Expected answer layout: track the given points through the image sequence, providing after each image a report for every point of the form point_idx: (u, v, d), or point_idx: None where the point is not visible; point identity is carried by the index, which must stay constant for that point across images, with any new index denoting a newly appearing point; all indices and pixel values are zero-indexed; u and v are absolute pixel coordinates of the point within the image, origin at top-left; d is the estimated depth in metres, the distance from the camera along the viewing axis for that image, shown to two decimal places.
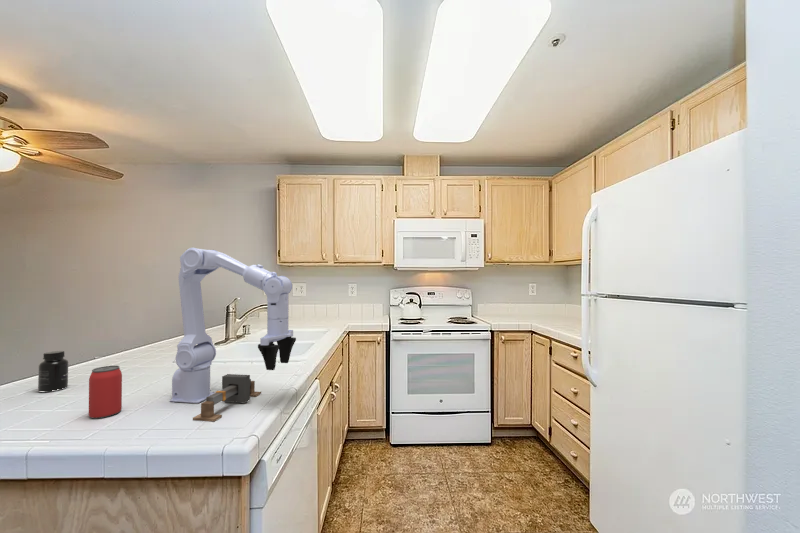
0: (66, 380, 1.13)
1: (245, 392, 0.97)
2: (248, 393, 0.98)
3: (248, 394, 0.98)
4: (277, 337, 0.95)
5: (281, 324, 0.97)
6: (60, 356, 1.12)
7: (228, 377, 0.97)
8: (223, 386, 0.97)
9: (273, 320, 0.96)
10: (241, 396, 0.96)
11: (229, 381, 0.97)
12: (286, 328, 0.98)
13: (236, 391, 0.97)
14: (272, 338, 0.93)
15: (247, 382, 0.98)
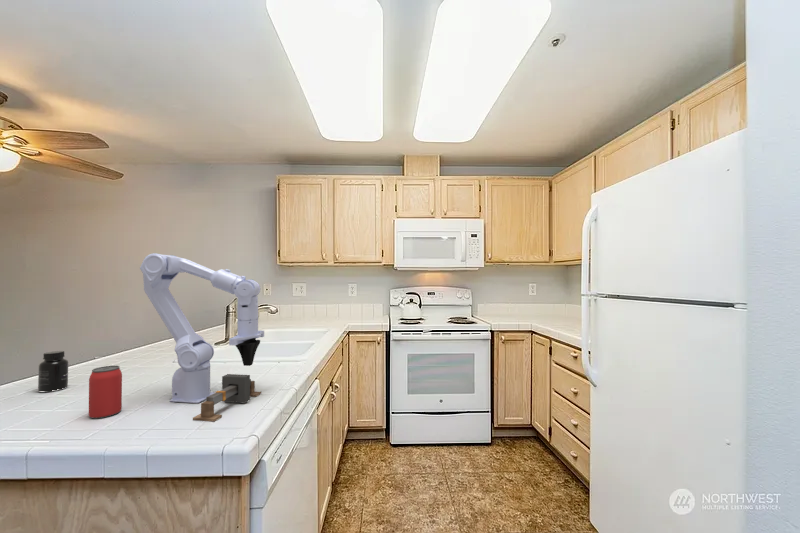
0: (66, 380, 1.13)
1: (245, 392, 0.97)
2: (248, 393, 0.98)
3: (248, 394, 0.98)
4: (246, 337, 1.00)
5: (250, 325, 1.02)
6: (60, 356, 1.12)
7: (228, 377, 0.97)
8: (223, 386, 0.97)
9: (242, 321, 1.01)
10: (241, 396, 0.96)
11: (229, 381, 0.97)
12: (255, 329, 1.03)
13: (236, 391, 0.97)
14: (241, 338, 0.98)
15: (247, 382, 0.98)
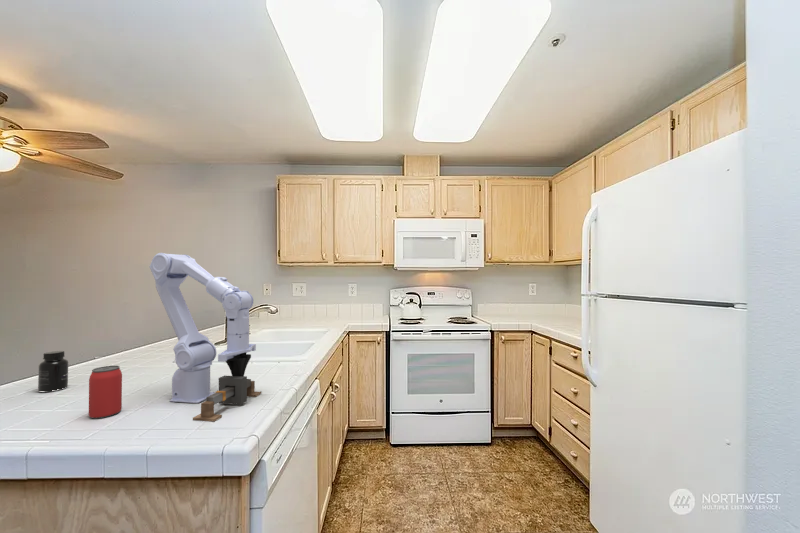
0: (66, 380, 1.13)
1: (242, 394, 0.95)
2: (245, 395, 0.96)
3: (245, 396, 0.96)
4: (236, 353, 0.95)
5: (241, 339, 0.97)
6: (60, 356, 1.12)
7: (225, 379, 0.96)
8: (219, 388, 0.96)
9: (232, 336, 0.97)
10: (238, 398, 0.95)
11: (226, 383, 0.96)
12: (246, 343, 0.98)
13: None
14: (230, 354, 0.94)
15: (244, 384, 0.96)
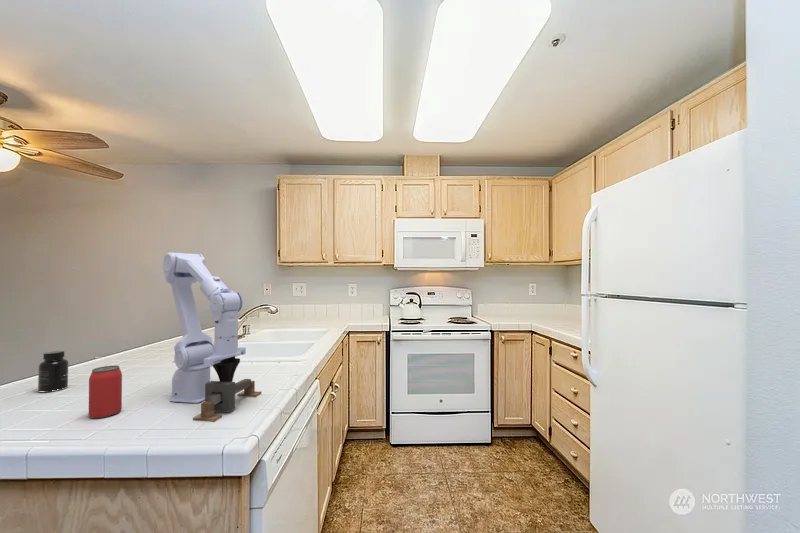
0: (66, 380, 1.13)
1: (230, 400, 0.90)
2: (233, 401, 0.91)
3: (233, 402, 0.91)
4: (223, 357, 0.90)
5: (229, 343, 0.92)
6: (60, 356, 1.12)
7: (211, 384, 0.91)
8: (206, 394, 0.91)
9: (220, 339, 0.91)
10: (225, 405, 0.90)
11: (212, 389, 0.91)
12: (234, 347, 0.93)
13: (236, 391, 0.97)
14: (217, 358, 0.89)
15: (232, 390, 0.91)
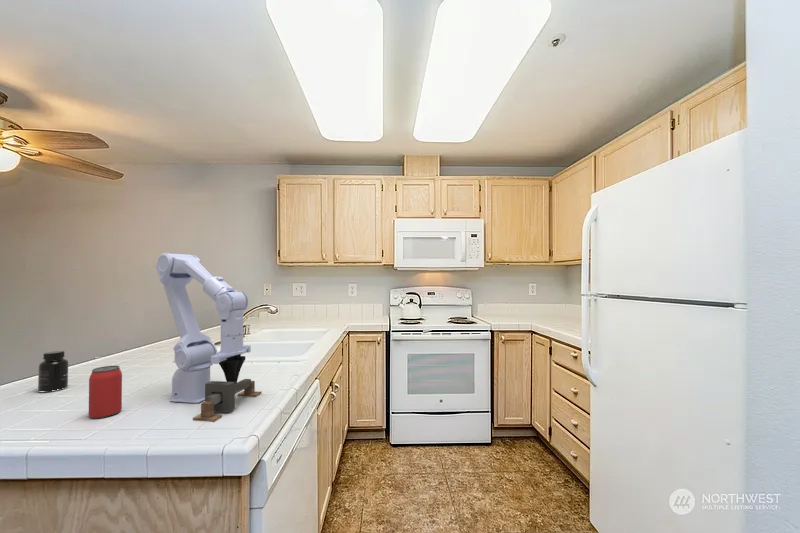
0: (66, 380, 1.13)
1: (229, 400, 0.90)
2: (233, 401, 0.91)
3: (233, 402, 0.91)
4: (229, 355, 0.93)
5: (235, 341, 0.94)
6: (60, 356, 1.12)
7: (211, 384, 0.91)
8: (206, 394, 0.91)
9: (226, 337, 0.94)
10: (225, 405, 0.90)
11: (212, 389, 0.91)
12: (240, 345, 0.96)
13: (236, 391, 0.97)
14: (223, 356, 0.91)
15: (232, 390, 0.91)
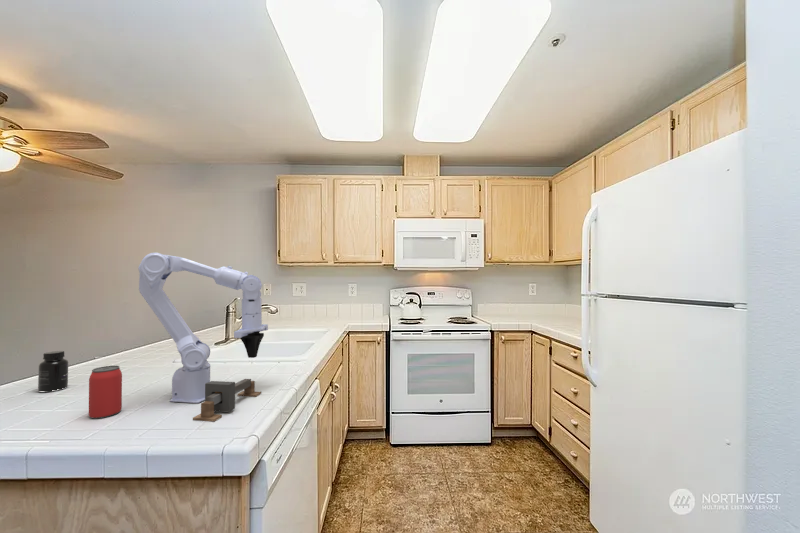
0: (66, 380, 1.13)
1: (229, 400, 0.90)
2: (233, 401, 0.91)
3: (233, 402, 0.91)
4: (250, 330, 1.04)
5: (254, 318, 1.06)
6: (60, 356, 1.12)
7: (211, 384, 0.91)
8: (206, 394, 0.91)
9: (246, 315, 1.05)
10: (225, 405, 0.90)
11: (212, 389, 0.91)
12: (259, 322, 1.07)
13: (236, 391, 0.97)
14: (245, 331, 1.03)
15: (232, 390, 0.91)
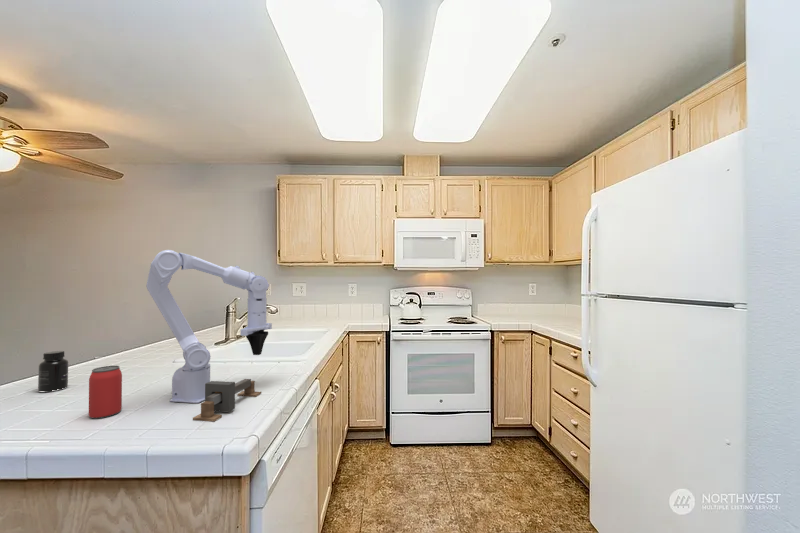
0: (66, 380, 1.13)
1: (229, 400, 0.90)
2: (233, 401, 0.91)
3: (233, 402, 0.91)
4: (255, 329, 1.08)
5: (260, 317, 1.10)
6: (60, 356, 1.12)
7: (211, 384, 0.91)
8: (206, 394, 0.91)
9: (252, 314, 1.09)
10: (225, 405, 0.90)
11: (212, 389, 0.91)
12: (264, 321, 1.11)
13: (236, 391, 0.97)
14: (251, 329, 1.07)
15: (232, 390, 0.91)
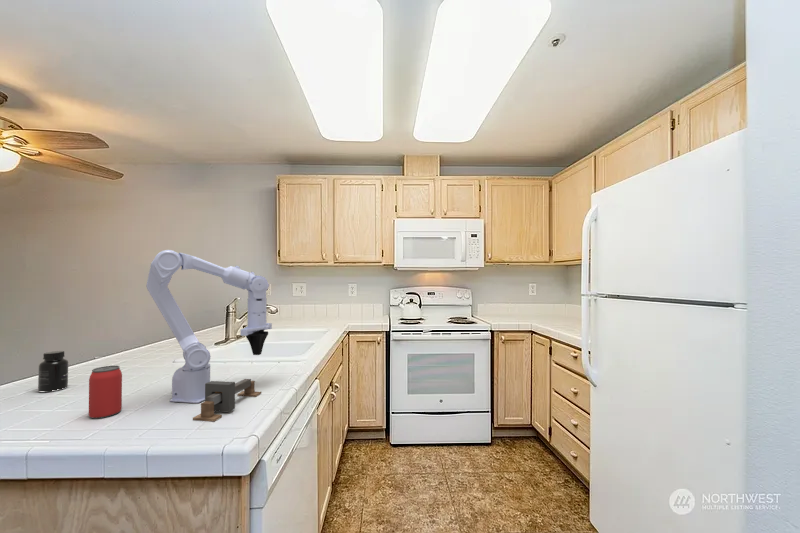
0: (66, 380, 1.13)
1: (229, 400, 0.90)
2: (233, 401, 0.91)
3: (233, 402, 0.91)
4: (255, 329, 1.08)
5: (260, 317, 1.10)
6: (60, 356, 1.12)
7: (211, 384, 0.91)
8: (206, 394, 0.91)
9: (252, 314, 1.09)
10: (225, 405, 0.90)
11: (212, 389, 0.91)
12: (264, 321, 1.11)
13: (236, 391, 0.97)
14: (251, 329, 1.07)
15: (232, 390, 0.91)
